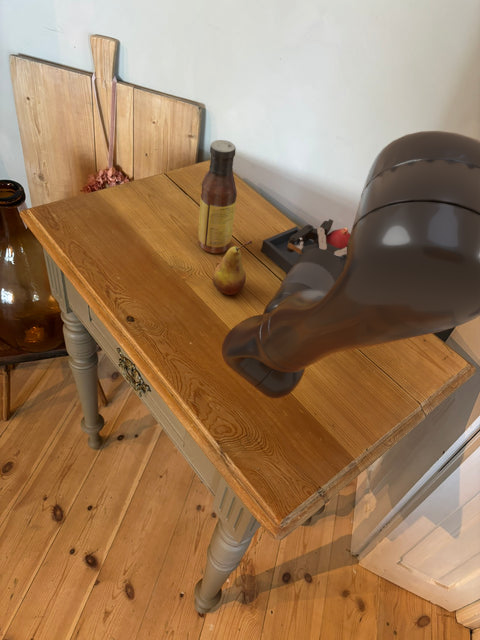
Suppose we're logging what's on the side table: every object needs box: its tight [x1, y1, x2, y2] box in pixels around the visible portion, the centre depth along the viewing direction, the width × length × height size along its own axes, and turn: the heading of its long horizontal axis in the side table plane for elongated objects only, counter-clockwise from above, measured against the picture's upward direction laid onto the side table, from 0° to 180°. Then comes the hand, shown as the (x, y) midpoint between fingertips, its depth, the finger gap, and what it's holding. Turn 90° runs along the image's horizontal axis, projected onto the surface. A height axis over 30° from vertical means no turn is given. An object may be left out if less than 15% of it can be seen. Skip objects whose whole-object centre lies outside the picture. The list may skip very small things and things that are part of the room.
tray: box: [260, 226, 313, 275], centre depth 86 cm, size 9×17×3 cm, turn 40°
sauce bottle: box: [197, 139, 238, 255], centre depth 80 cm, size 6×6×20 cm
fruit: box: [212, 240, 253, 296], centre depth 76 cm, size 6×6×12 cm
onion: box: [326, 227, 351, 249], centre depth 79 cm, size 6×6×8 cm
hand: (345, 230), depth 79 cm, fingers closed on onion, 5 cm apart
